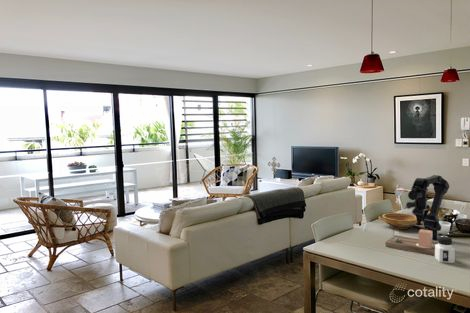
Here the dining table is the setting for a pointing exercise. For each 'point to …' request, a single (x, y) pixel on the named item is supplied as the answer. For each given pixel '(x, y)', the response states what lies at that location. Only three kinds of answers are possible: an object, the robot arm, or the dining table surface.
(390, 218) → the wooden bowl
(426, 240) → the peach colored cube
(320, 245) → the dining table surface
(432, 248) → the walnut board
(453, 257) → the container
